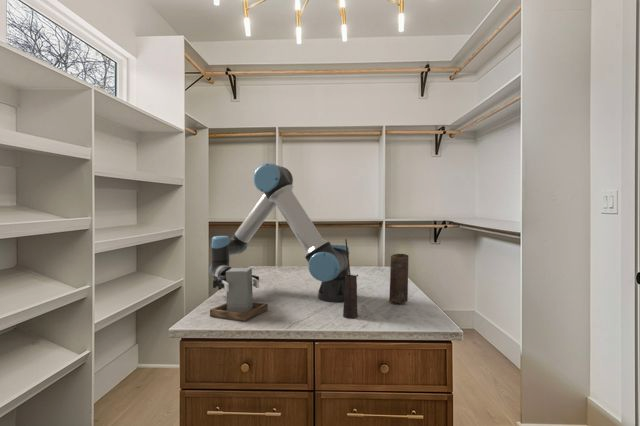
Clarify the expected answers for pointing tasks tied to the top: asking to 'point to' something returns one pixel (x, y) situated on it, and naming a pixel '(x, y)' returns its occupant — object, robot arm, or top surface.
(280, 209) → the robot arm
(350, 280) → the butter churn
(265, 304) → the walnut tray
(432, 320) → the top surface
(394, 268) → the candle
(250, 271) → the skincare box
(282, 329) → the top surface
